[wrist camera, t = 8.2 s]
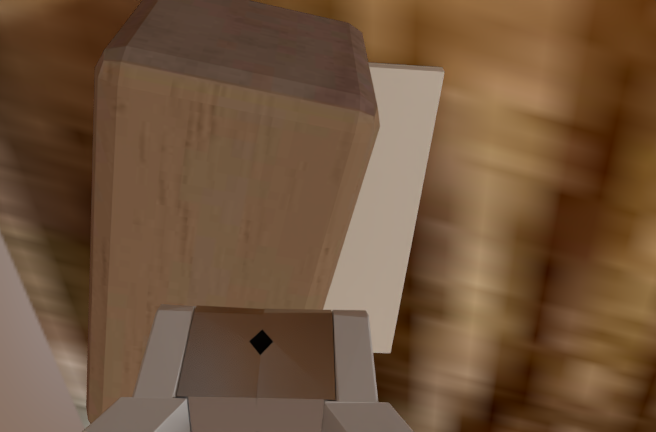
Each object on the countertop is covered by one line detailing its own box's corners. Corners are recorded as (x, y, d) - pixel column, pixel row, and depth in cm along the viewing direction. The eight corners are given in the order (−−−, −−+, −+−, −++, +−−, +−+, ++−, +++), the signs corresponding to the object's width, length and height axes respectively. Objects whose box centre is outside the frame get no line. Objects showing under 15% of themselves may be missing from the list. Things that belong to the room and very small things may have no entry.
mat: (118, 45, 30) (115, 50, 30) (442, 67, 31) (444, 71, 31) (152, 337, 42) (150, 344, 41) (389, 346, 43) (390, 353, 42)
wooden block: (152, -29, 28) (128, 298, 39) (86, 50, 20) (79, 436, 31) (368, 21, 29) (286, 322, 40) (391, 113, 21) (280, 460, 32)
